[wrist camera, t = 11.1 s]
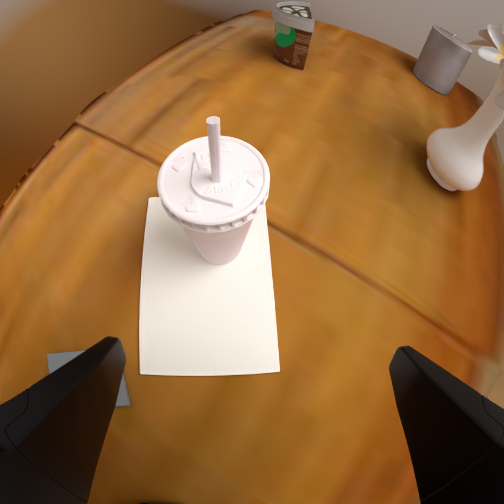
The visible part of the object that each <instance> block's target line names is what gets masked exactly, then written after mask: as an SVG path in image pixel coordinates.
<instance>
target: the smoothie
mask: <svg viewBox="0 0 504 504" xmlns="http://www.w3.org/2000/svg"><path fill="white" fill-rule="evenodd" d="M207 132H208V136H206V137H201V138H197V139H194V140H191V141H189V142H187V143H185V144H183V145H181V146H180V147H178V148H177V149H175V150H174V151H173V152H172V153H171V154H170V155H169V156H168V157H167V158H166V160H165V161H164V163H163V164H162V166H161V168H160V171H159V174H158V180H157V187H158V193H159V196H160V200H161V203H162V206H163V208H164V210H165V211H166V213H167V214H168V216H169V217H170V218H171V219H173V220H174V221H175V222H176V223H178V224H179V225H181V226H182V228H183V229H184V231H185V232H186V234H187V235H188V237H189V238H190V240H191V241H192V242H193V244H194V245H195V247H196V248H197V250H198V251H199V253H200V254H201V256H202V257H203V258H204V259H205V260H206V261H207V262H209V263H211V264H215V265H224V264H228V263H230V262H232V261H233V260H235V259H236V258H237V256H238V255H239V253H240V251H241V249H242V246H243V244H244V241H245V239H246V236H247V234H248V231H249V228H250V226H251V223H252V221H253V218H254V217H255V216H256V215H257V214H258V213H259V212H260V211H261V209H262V208H263V206H264V204H265V202H266V200H267V198H268V193H269V186H270V185H269V183H270V172H269V168H268V165H267V163H266V161H265V159H264V158H263V156H262V155H261V154H260V152H259V151H257V150H256V149H255V148H254V147H253V146H251V145H250V144H248V143H246V142H244V141H242V140H239V139H236V138H232V137H227V136H220V119H219V118H218V117H216V116H212V117H209V118H208V119H207Z"/></svg>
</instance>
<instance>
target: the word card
mask: <svg viewBox="0 0 504 504" xmlns="http://www.w3.org/2000/svg"><path fill="white" fill-rule="evenodd" d="M84 351H86V350H84ZM84 351H74V352H63V353H51V354H47V361H48V368H49V374H50V373H52V372H54V371H55V370H57V369H58V368H60V367H61V366H63V365H64V364H66V363H67V362H69V361H70V360H72V359H73V358H75V357H76V356H78V355H80V354H81V353H83V352H84ZM129 405H131V402H130V398H129V394H128V390H127V385H126V380H125V375H124V372H123V376H122V380H121V384H120V389H119V393H118V398H117V402H116V405H115V406H129Z"/></svg>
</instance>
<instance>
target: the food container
mask: <svg viewBox="0 0 504 504" xmlns="http://www.w3.org/2000/svg"><path fill="white" fill-rule="evenodd" d="M310 5H311V4H310V3H304V2H281V3H278V4H277V6H276V7H275V8H274V10H273V13H272V18H273V19H274V20H275V43H274V57H275V58H276V59H277V60H278V61H279V62H281V63H282V64H284V65H287V66H289V67H292V68H296V69H300V70H303V69H304V65H305V61H306V57H307V52H308V48H309V44H310V40H311V35H312V33H313V28H314V22H315V20H312V18H311V12H310Z"/></svg>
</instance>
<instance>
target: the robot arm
mask: <svg viewBox="0 0 504 504" xmlns="http://www.w3.org/2000/svg"><path fill="white" fill-rule="evenodd" d="M125 363H126V356H125V353H124V349H123V346H122V342H121V340H120V339H119V338H117V337H111V336H108V337H106V338H104V339H103V340H101V341H99V342H98V343H96V344H95V345H93V346H92V347H90V348H89V349H87V350H86V351H84V352H83V353H81V354H80V355H78V356H76V357H75V358H73V359H72V360H70V361H69V362H67V363H66V364H64V365H63V366H61V367H60V368H58V369H57V370H55V371H54V372H52V373H50V374H49V375H47V376H46V377H44V378H43V379H41V380H40V381H38V382H37V383H35V384H34V385H32V386H31V387H30V389H29V388H28V389H26V390H25V391H23V392H22V393H20V394H18V395H17V396H15V397H14V398H12V399H10V400H9V401H7V402H5V403H3V404H1V405H0V504H87V502H88V498H89V494H90V489H91V485H92V482H93V478H94V474H95V470H96V466H97V463H98V459H99V456H100V452H101V449H102V446H103V442H104V439H105V436H106V433H107V429H108V426H109V423H110V420H111V417H112V414H113V411H114V408H115V405H116V402H117V398H118V393H119V389H120V384H121V380H122V376H123V372H124V367H125ZM389 371H390V376H391V380H392V385H393V390H394V395H395V400H396V405H397V409H398V412H399V416H400V419H401V423H402V426H403V430H404V433H405V437H406V441H407V444H408V448H409V452H410V456H411V460H412V464H413V469H414V473H415V478H416V482H417V487H418V492H419V497H420V501H421V502H420V504H504V409H503V408H501V407H500V406H498V405H496V404H495V403H493V402H492V401H490V400H489V399H487V398H486V397H484V396H483V395H481V394H480V393H479V392H477V391H476V390H474V389H473V388H471V387H470V386H468V385H467V384H465V383H464V382H462V381H461V380H459V379H458V378H456V377H455V376H453V375H452V374H450V373H449V372H448V371H446V370H445V369H443V368H442V367H440V366H439V365H437V364H436V363H434V362H433V361H431V360H430V359H428V358H427V357H425V356H424V355H422V354H421V353H419V352H418V351H416V350H415V349H413V348H412V347H410V346H401V347H399V348H398V349H397V350H396V352H395V354H394V356H393V358H392V360H391V362H390V366H389ZM141 504H146V503H141Z"/></svg>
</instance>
